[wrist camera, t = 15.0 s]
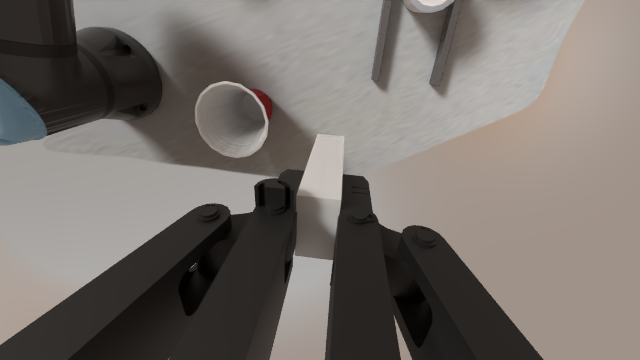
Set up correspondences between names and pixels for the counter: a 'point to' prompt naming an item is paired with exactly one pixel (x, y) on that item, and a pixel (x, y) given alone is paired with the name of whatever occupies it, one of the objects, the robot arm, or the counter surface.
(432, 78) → the guide rails
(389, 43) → the counter surface
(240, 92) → the plastic cup
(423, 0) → the white tapered cup
